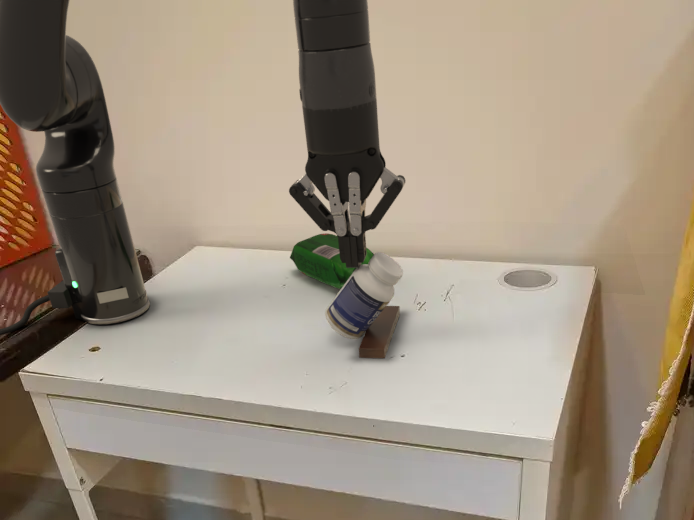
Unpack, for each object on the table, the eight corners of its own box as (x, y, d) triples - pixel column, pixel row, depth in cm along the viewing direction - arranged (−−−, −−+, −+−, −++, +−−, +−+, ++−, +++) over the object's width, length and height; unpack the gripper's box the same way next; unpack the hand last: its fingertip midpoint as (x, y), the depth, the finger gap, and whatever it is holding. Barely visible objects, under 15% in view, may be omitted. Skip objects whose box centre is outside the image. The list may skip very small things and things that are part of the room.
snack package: (347, 301, 97) (344, 263, 94) (286, 271, 108) (282, 236, 105) (388, 287, 100) (387, 250, 97) (326, 259, 111) (323, 225, 108)
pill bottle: (359, 348, 86) (408, 288, 80) (321, 325, 84) (368, 262, 78) (362, 324, 90) (408, 265, 84) (325, 301, 88) (370, 240, 82)
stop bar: (359, 357, 84) (358, 348, 83) (376, 314, 93) (376, 305, 92) (384, 358, 83) (384, 349, 82) (399, 314, 92) (399, 305, 92)
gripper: (409, 86, 74) (415, 253, 84) (286, 95, 77) (306, 255, 87) (398, 100, 68) (407, 277, 78) (265, 109, 71) (290, 278, 81)
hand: (354, 265), depth 82 cm, fingers closed
